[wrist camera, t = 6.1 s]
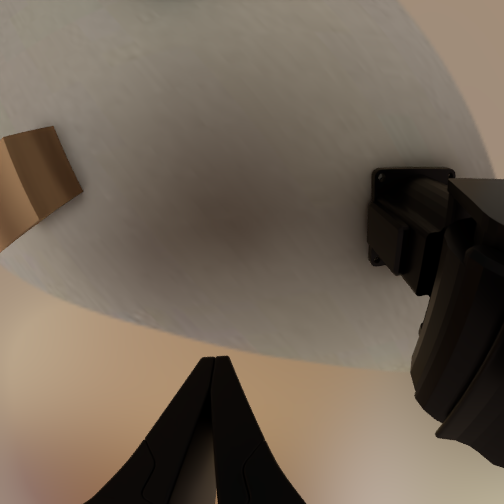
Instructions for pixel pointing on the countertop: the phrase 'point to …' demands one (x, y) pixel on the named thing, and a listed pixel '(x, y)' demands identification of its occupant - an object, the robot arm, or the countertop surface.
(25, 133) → the walnut cube
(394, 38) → the countertop surface
